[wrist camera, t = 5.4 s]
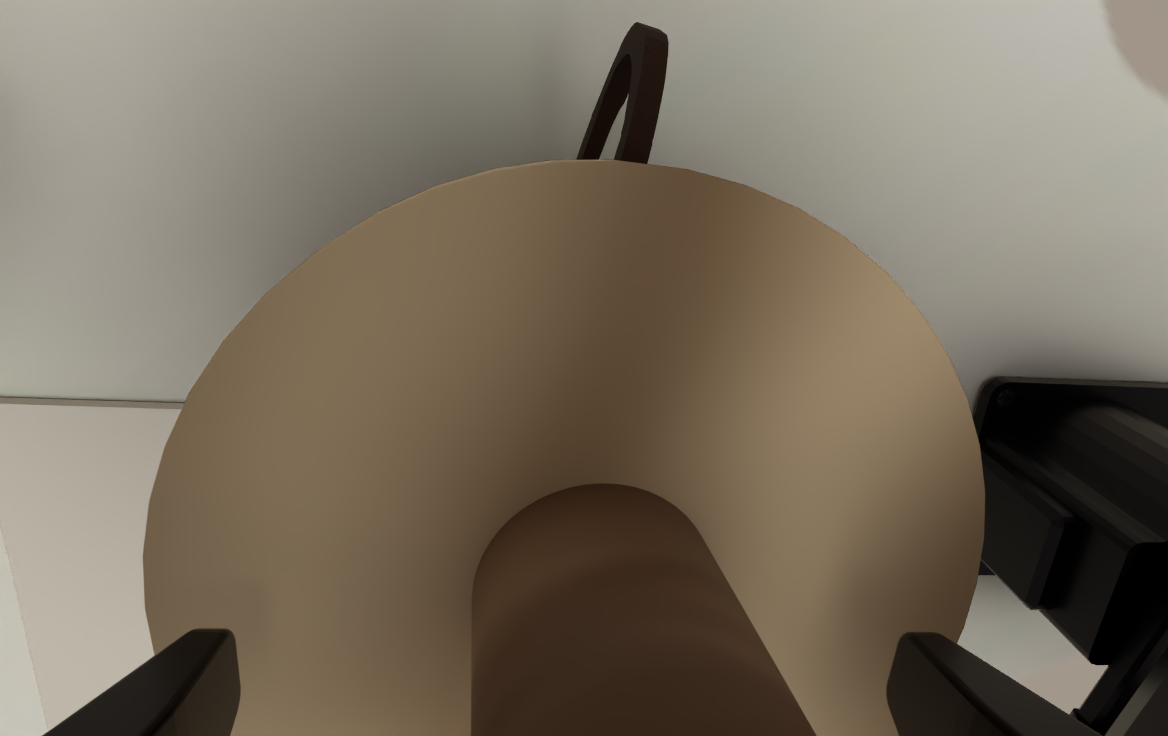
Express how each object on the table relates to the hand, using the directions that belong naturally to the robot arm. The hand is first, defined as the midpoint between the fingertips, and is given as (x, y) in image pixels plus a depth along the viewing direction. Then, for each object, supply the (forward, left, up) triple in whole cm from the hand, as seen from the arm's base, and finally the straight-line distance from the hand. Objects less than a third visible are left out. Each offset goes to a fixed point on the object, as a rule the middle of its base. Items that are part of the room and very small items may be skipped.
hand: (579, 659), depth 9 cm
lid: (0, 0, -2) cm, 2 cm away
